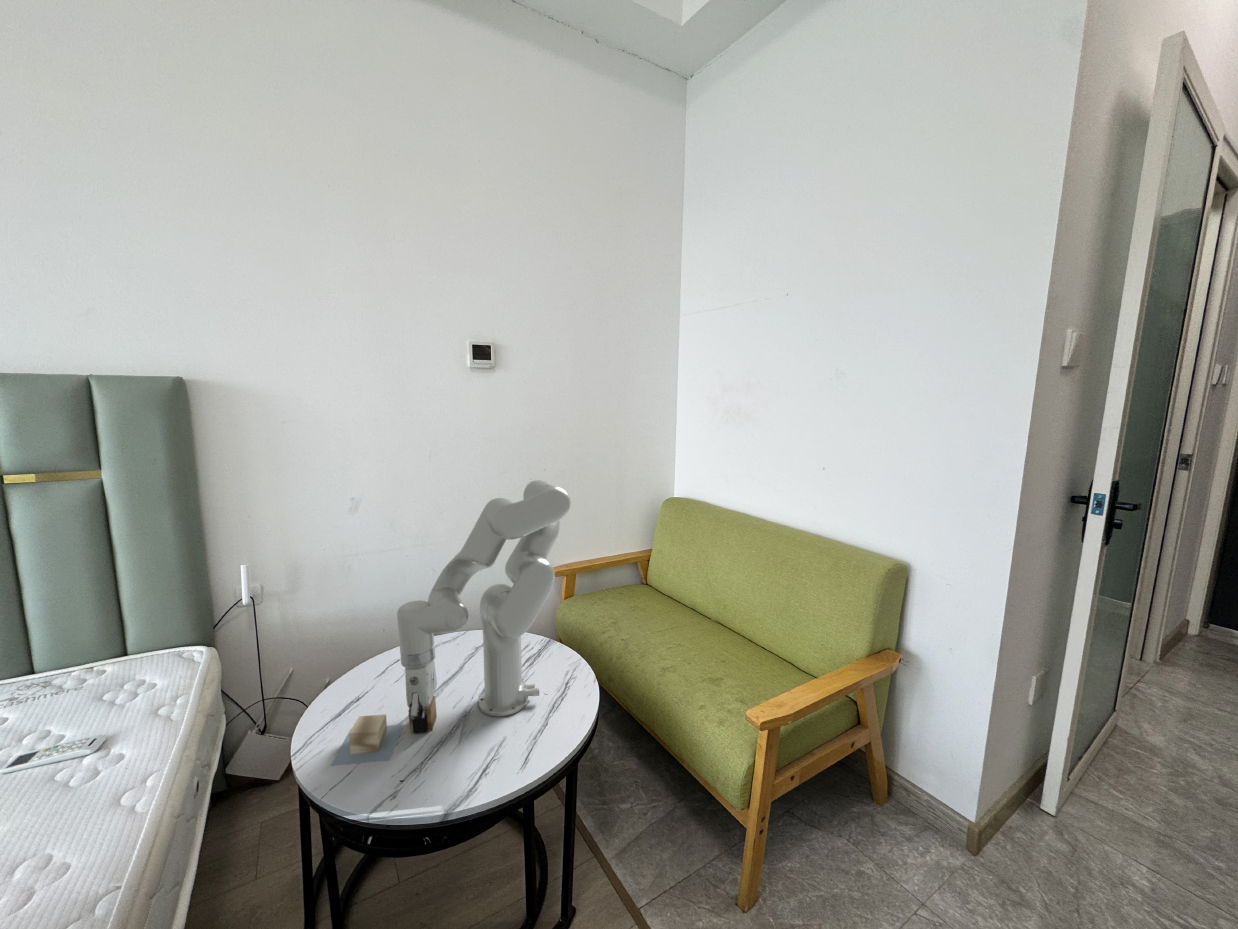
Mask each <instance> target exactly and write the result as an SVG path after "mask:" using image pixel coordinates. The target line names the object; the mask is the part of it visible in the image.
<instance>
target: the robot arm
mask: <svg viewBox="0 0 1238 929" xmlns="http://www.w3.org/2000/svg"><path fill="white" fill-rule="evenodd" d="M522 497H523V500H519V501H516V502H514V501H512V500H510V499H507V498H505V497H495V498H492V499H490V501H488V502H487V503H486V504H485V506H484V508H483V509H482V511H481V513H480V515H479V517H478V518H477V521H476V522H475V524H474V526H473V528H472V530H471V532H470V534H469V535H468V537H467V539H466V541H465V542H464V545H463V546H462V548H461V550H460V551H459V552H458V553H456V555H455V556H454V557H453V558H452V559H451V560H450V561H449V562H448V563H447V564H446V565H445V567H443V569H442V571H441V572H440V574H439V575H438V577H437V579H436V581H435V583H434V585H433V587H432V589H431V591H430V593H429V595H428V599H427V601H425V600H412V601H408V602H406V603H403V604H402V605H401V606H399V608H398V609H397V611H396V612H397V613H396V619H397V629H398V632H397V633H398V641H399V642H398V643H399V653H400V665H401V666H402V667H403V668H405V670H404V672H405V675H404V677H405V695H406V696H405V697H406V704H407V708H408V709H409V708H411V707H412V710H411V717H412V721H413V732H412V733H413V734H420V733H422V734H423V733H427V732H429V731H428V721H427V715H425V707H428V706H429V705H430V703H431V701H432V698H433V696H435V693H436V689H437V685H438V682H437V681H438V680H437V672H436V670H437V669H436V663H435V659H436V648H435V634H441V633H443V634H445V633H451V632H456V631H458V630H460V629H462V628H463V627H464V626H465V625H467V623H468V620H469V610H468V607H467V606H466V604H465V603H464V602H463V600H462V599H461V595H462V594H463V591H464V590H465V588H466V586H467V585H468V582H469V581H470V580H471V578H473V576H474V575H475V574H477V573H479V572H480V571H482V570H486V569H489V568H491V567H492V566H493V565H494V564H495V562H496V560H497V558H498V557H499V555H500V552H501V550H502V549H503V546H504V545H505V543H506V541H507V540H509V541H511V540H516V539H519V540H518V542H517V544H516V546H515V547H514V549H513V551H512V552H511V554H510V556H508V559H507V560H506V562H505V565H504V572H505V575H506V577H507V579H508V580H509V581H510V582H511V583H512V584H513V585H512V586H510V585H507V584H504V583H496V584H493V585H491V586H489V587H488V588H487V589H486V590H484V592H483V593H482V596H481V598H480V602H479V614H480V622H481V629H482V640H483V642H482V644H483V646H482V647H483V675H484V676H483V678H484V679H483V681H484V692H482V694H481V695H480V697H479V699H478V707H479V710H480V711H481V712H482V713H483V714H485V715H488V716H489V717H490V716H491V717H506V716H511V715H513V714H516V713H518V712H520V711H521V710H523V709H524V708H525V706H527V704H528V701H529V697H540V687H536V685H535V683H530V684H526V683H524V680H525V679H524V678H523V672H522V669H523V668H522V636H523V635H524V634H525V633H526V632H528V630H529V629H530V628H531V626H532V625H533V623H534V621H535V620H536V618H537V616H538V615H539V613H540V611H541V610H542V608H543V606H544V605H545V602H546V600H547V599H548V597H549V595H550V593H551V592H552V589H553V585H554V583H555V577H556V576H555V570H554V567H553V566H552V564H551V562H549V561H548V558H549V555H550V554H551V552H552V549H553V548H554V545H555V544H556V542H557V539H558V535H559V533H560V527H561V526H560V523H561V522H560V520H562V519H563V518H564V517H565V516H566V515H567V514H568V512H569V510H570V508H571V498H570V496H569V494H568V492H567V491H566V490H565V489H564V488H561V487H560V486H557V485H555V484H553V483H551V482H548V481H545V480H542V479H541V480H540V479H535V480H531V481H530V482H529V483H527V485H526V486H525V488H524V490H523V496H522ZM419 702H420V704H419ZM421 707H422V712H421V711H418V708H421Z"/></svg>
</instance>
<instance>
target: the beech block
mask: <svg viewBox="0 0 1238 929" xmlns="http://www.w3.org/2000/svg"><path fill="white" fill-rule="evenodd" d="M387 723H388V722H387V714H384V713H383V714H374V715H360V716H358V717H357V718H356V720H355V723H354V724H353V726H352V727H351V728H350V730H351V731H350V730H349V732H350V733H349V732H348V733H349V741H350V754H360V753H371V752H379V751H380V749H381V747H382V744H383V742H384V740H385V738H386V735H387V726H388V724H387Z"/></svg>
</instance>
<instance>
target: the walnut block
mask: <svg viewBox="0 0 1238 929" xmlns="http://www.w3.org/2000/svg"><path fill="white" fill-rule="evenodd" d="M436 703H437V702H436V695H434V696H433V698H432V701H431V703H430V705H429V706H428V707H425V715H427V721H428V731H427V732H432V731H433V729H434V726H435V724H436V721H437V717H438V716H437V704H436ZM419 704H420V702H419ZM411 710H412V707H411V708H409V707H408V710H407V711H408V720H409V722H408V724H409V732H410V733H414V732H413V721H412V717H411ZM418 711H421V712H422V707H421V708H418Z"/></svg>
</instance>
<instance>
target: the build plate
mask: <svg viewBox="0 0 1238 929" xmlns="http://www.w3.org/2000/svg"><path fill="white" fill-rule="evenodd" d="M404 726H405V724H403V723H401V724H392V725H387V735H386V738H385V740H384V742H383V744H382V747H381V749H380V751H379V752H371V753H360V754H350V741H349V733H350V731H351V729H350V730H349V732H348V734H347V735H346V737H345V739H344V740H343V742H342V745H341V746H340V747H339V750H338V752H337V753H336V755H335V757H334V758H333V760H332V761H331V763H330V767H331V766H333V767H334V766H341V765H353V764H355V765H356V764H362V763H363V764H365V763H374V762H384V761H385V762H386V761H390V760H391V757H392V755H393V753H394V751H395V748H396V746H397V743H398V740H399V738H400V735H401V733H402V731H403V728H404Z"/></svg>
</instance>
